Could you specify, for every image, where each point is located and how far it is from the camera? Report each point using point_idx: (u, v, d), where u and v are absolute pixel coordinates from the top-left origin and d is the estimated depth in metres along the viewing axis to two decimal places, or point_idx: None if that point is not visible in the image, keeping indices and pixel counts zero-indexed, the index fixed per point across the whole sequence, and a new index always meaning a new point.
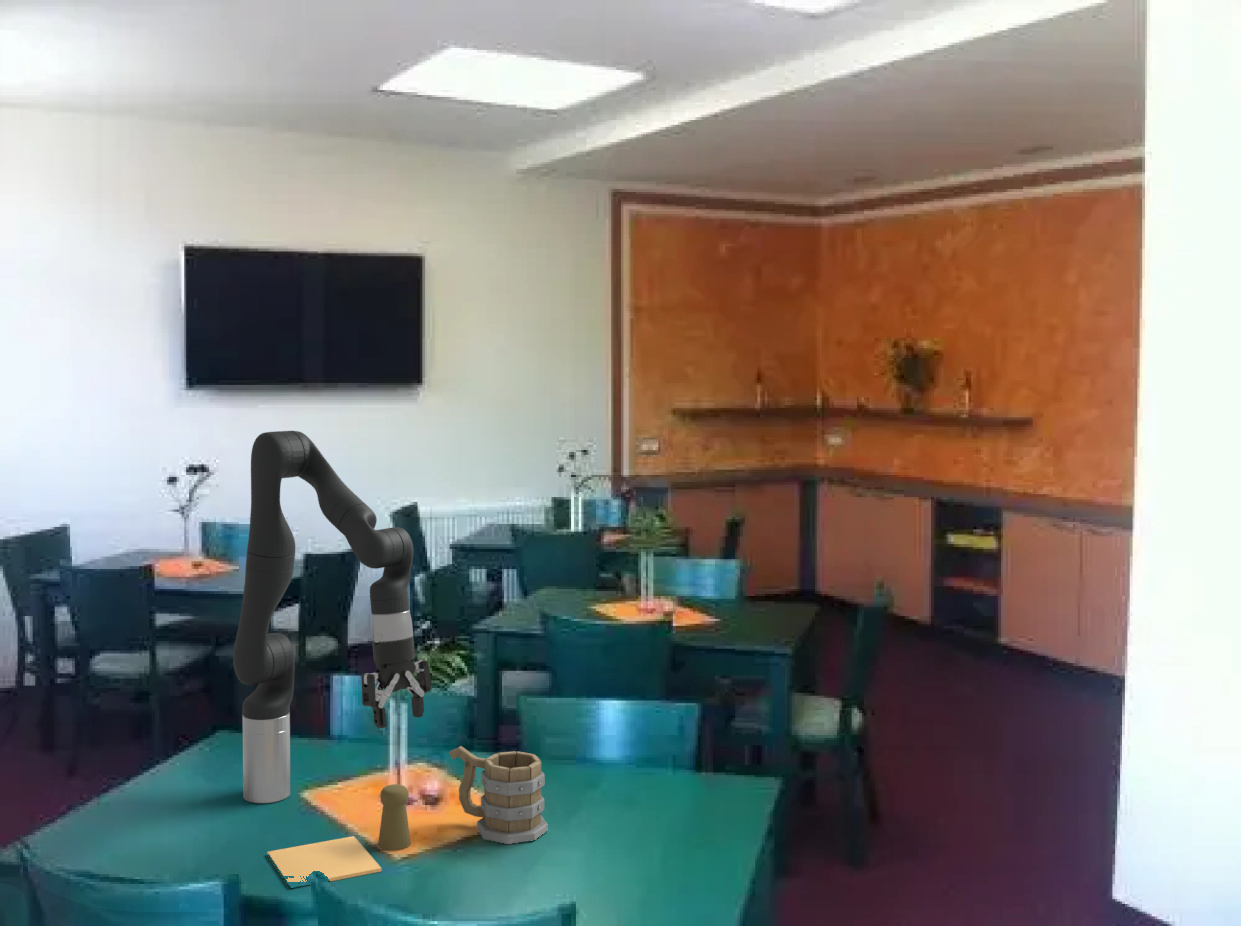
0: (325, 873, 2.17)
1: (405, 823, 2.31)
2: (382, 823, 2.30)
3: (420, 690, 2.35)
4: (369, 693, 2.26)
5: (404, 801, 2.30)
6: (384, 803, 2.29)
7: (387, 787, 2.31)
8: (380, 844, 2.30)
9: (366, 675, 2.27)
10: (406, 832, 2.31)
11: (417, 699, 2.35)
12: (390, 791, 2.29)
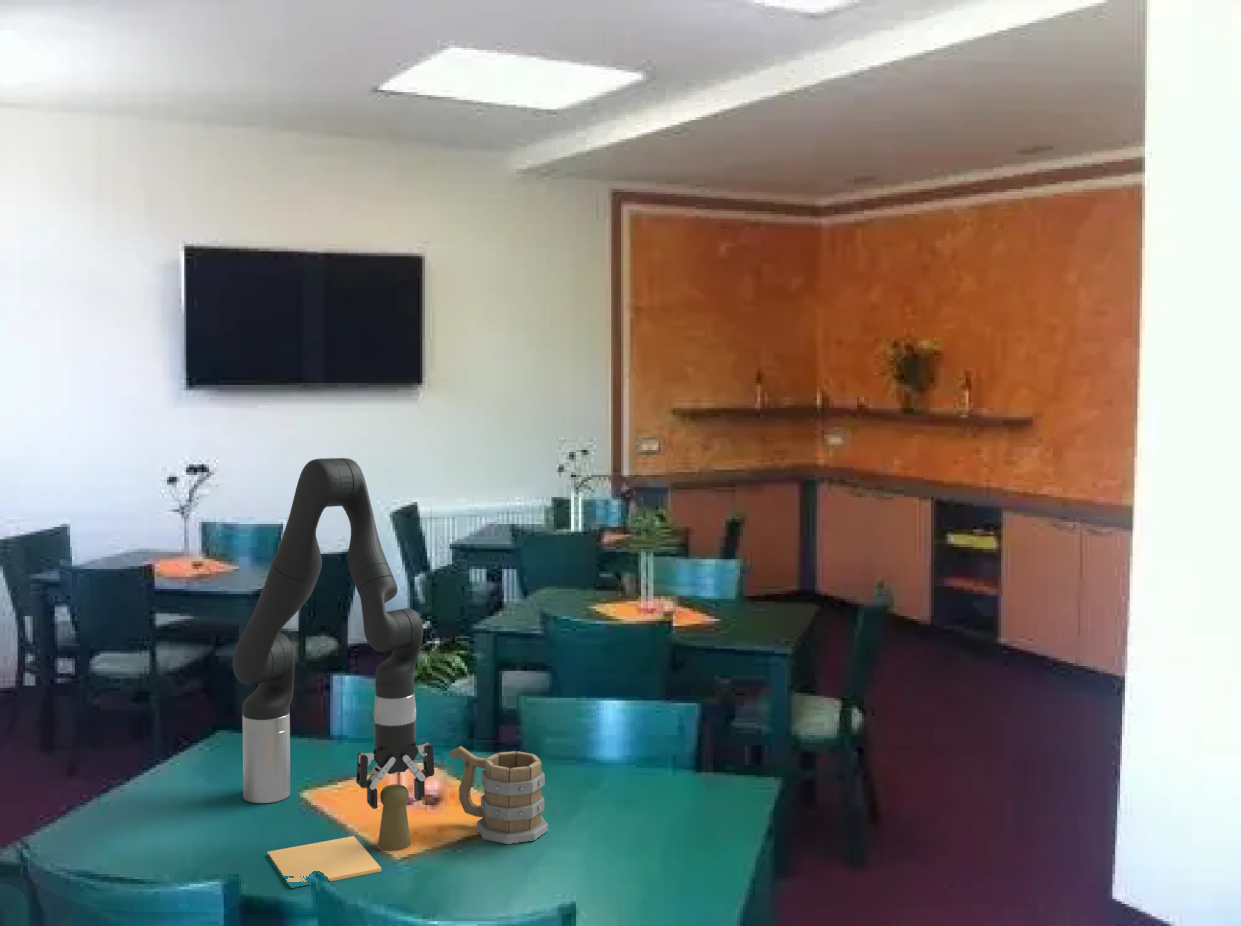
0: (325, 873, 2.17)
1: (405, 823, 2.31)
2: (382, 823, 2.30)
3: (420, 774, 2.32)
4: (360, 774, 2.26)
5: (404, 801, 2.30)
6: (384, 803, 2.29)
7: (387, 787, 2.31)
8: (380, 844, 2.30)
9: (360, 755, 2.27)
10: (406, 832, 2.31)
11: (417, 783, 2.32)
12: (390, 791, 2.29)
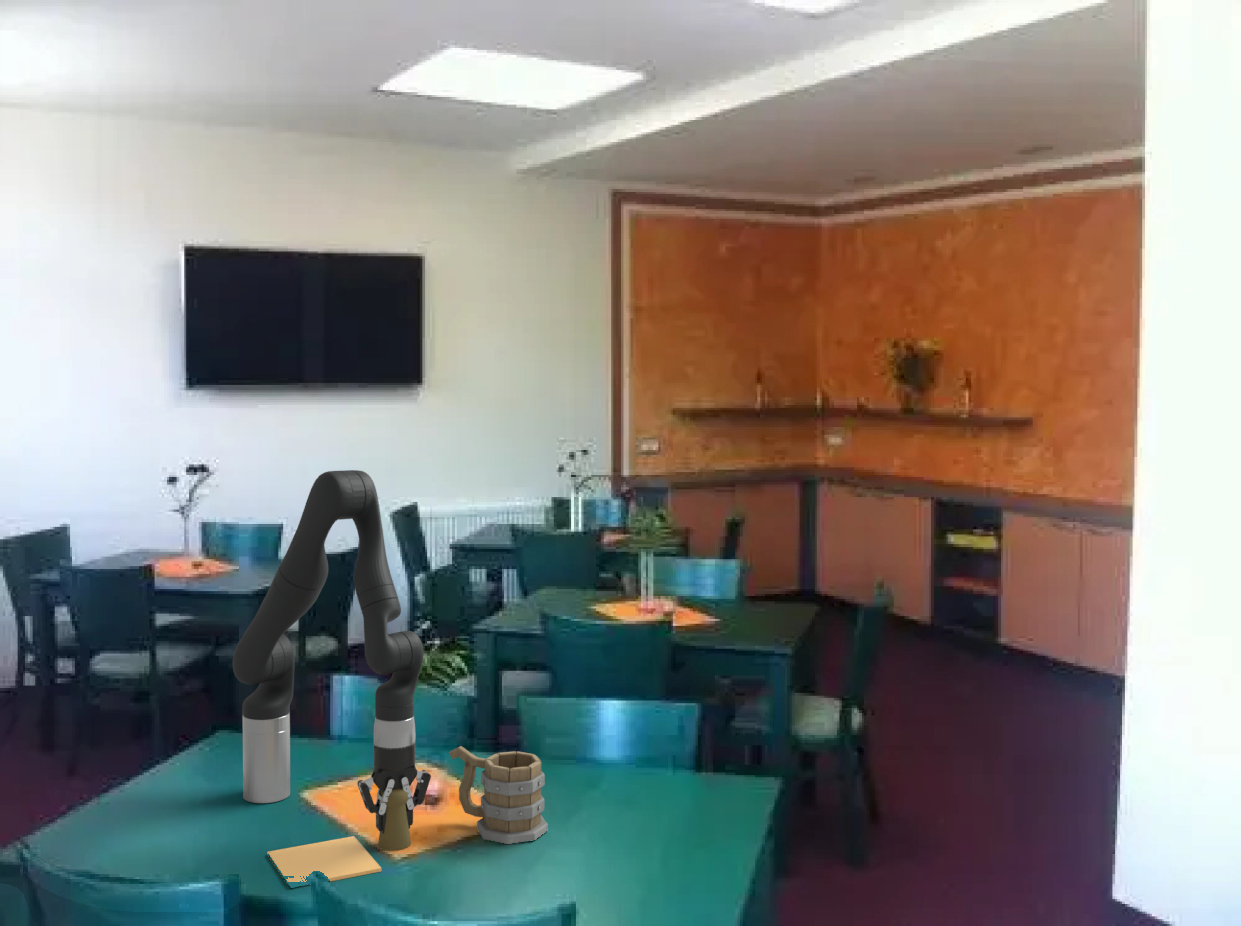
0: (325, 873, 2.17)
1: (405, 823, 2.31)
2: None
3: (411, 802, 2.32)
4: (365, 801, 2.27)
5: (404, 801, 2.30)
6: None
7: None
8: (380, 844, 2.30)
9: (359, 785, 2.27)
10: (406, 832, 2.31)
11: None
12: None
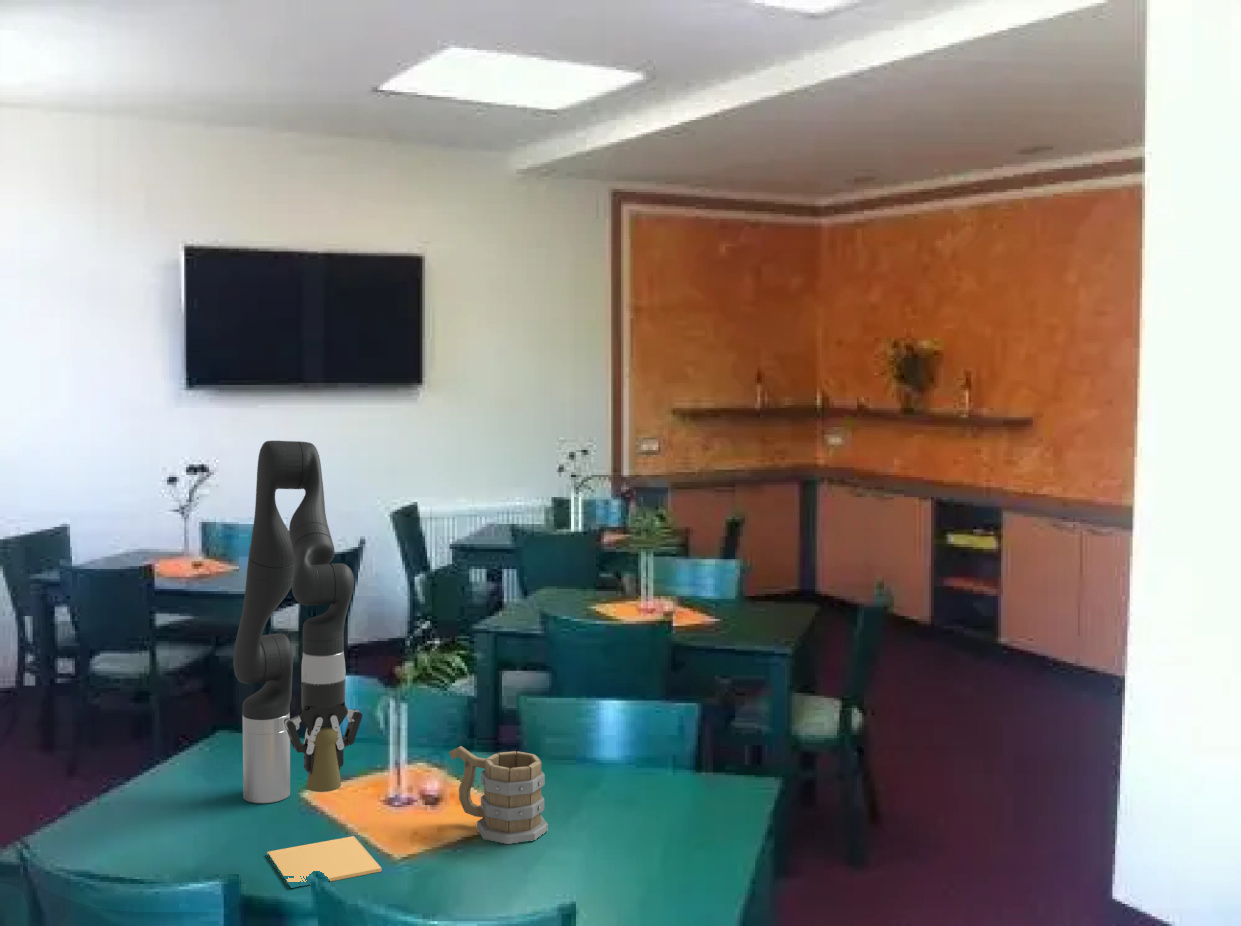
0: (325, 873, 2.17)
1: (334, 764, 2.20)
2: None
3: (341, 742, 2.21)
4: (292, 740, 2.17)
5: (333, 740, 2.20)
6: None
7: None
8: (308, 785, 2.20)
9: (286, 723, 2.17)
10: (335, 773, 2.20)
11: None
12: None
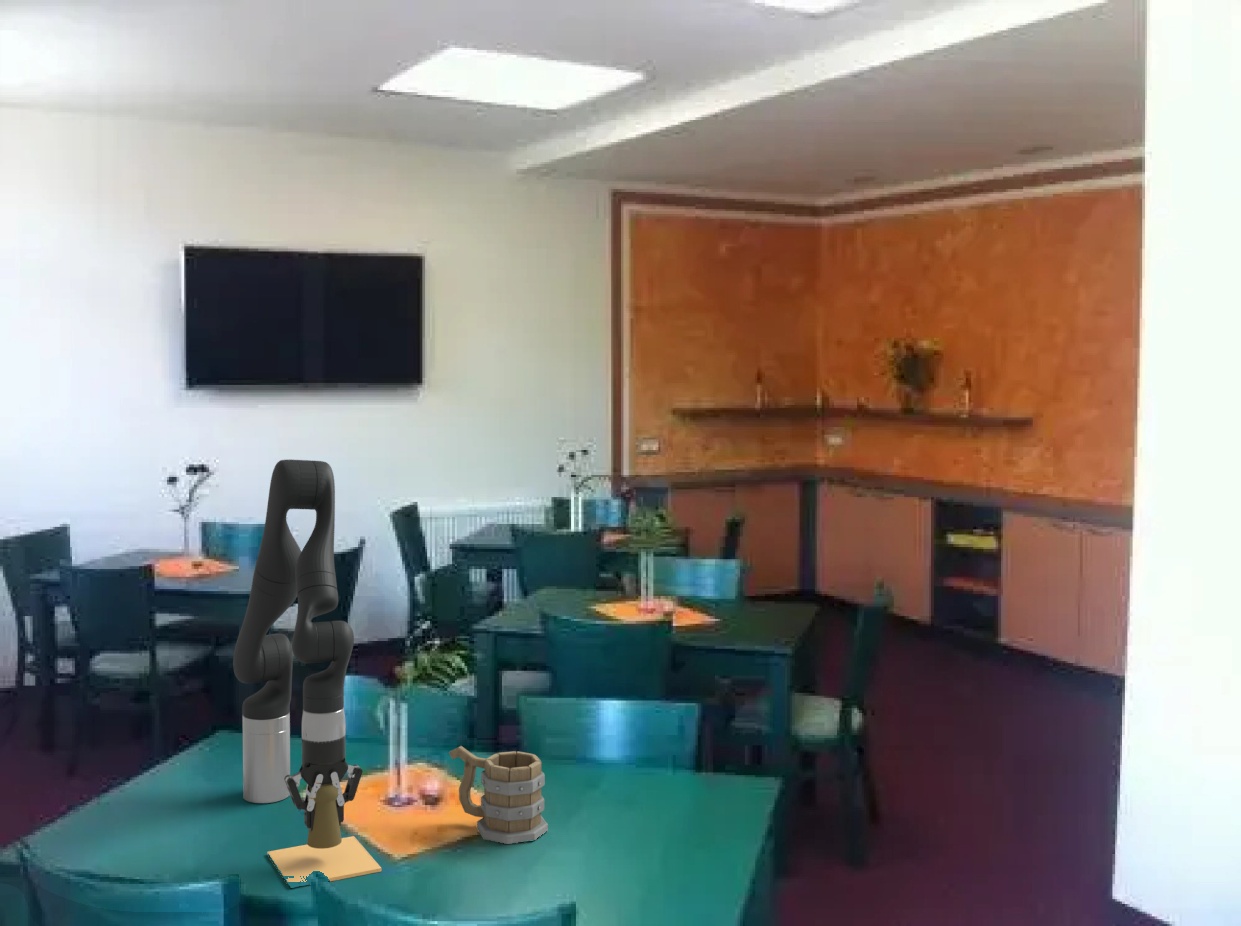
0: (325, 873, 2.17)
1: (335, 820, 2.21)
2: None
3: (341, 798, 2.22)
4: (293, 797, 2.18)
5: (334, 797, 2.20)
6: None
7: None
8: (309, 842, 2.21)
9: (286, 780, 2.18)
10: (336, 829, 2.21)
11: None
12: None
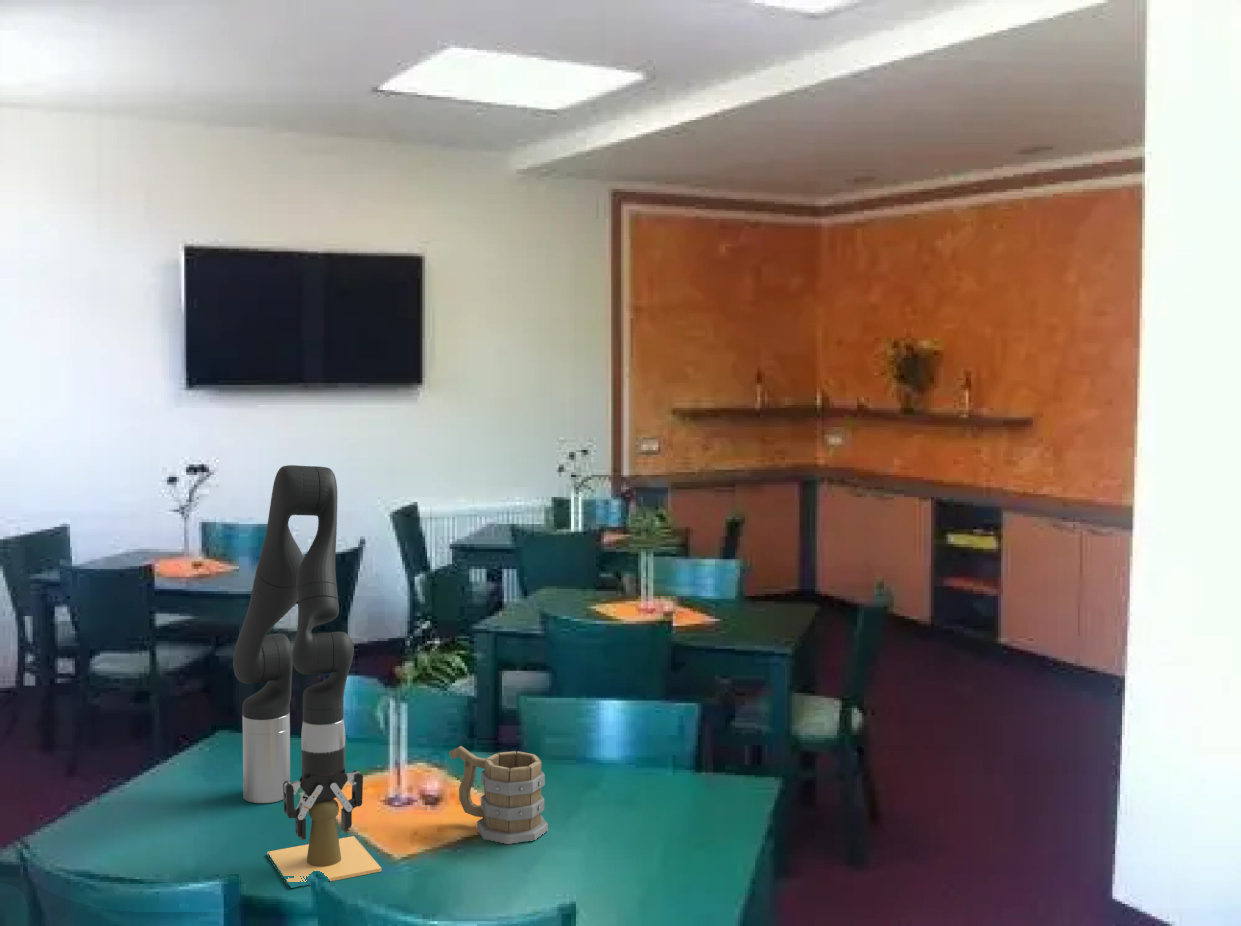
0: (325, 873, 2.17)
1: (334, 838, 2.21)
2: (311, 838, 2.21)
3: (348, 804, 2.23)
4: (286, 804, 2.18)
5: (333, 815, 2.21)
6: (312, 817, 2.20)
7: None
8: (308, 860, 2.21)
9: (285, 785, 2.18)
10: (335, 847, 2.22)
11: (344, 813, 2.23)
12: (318, 804, 2.20)
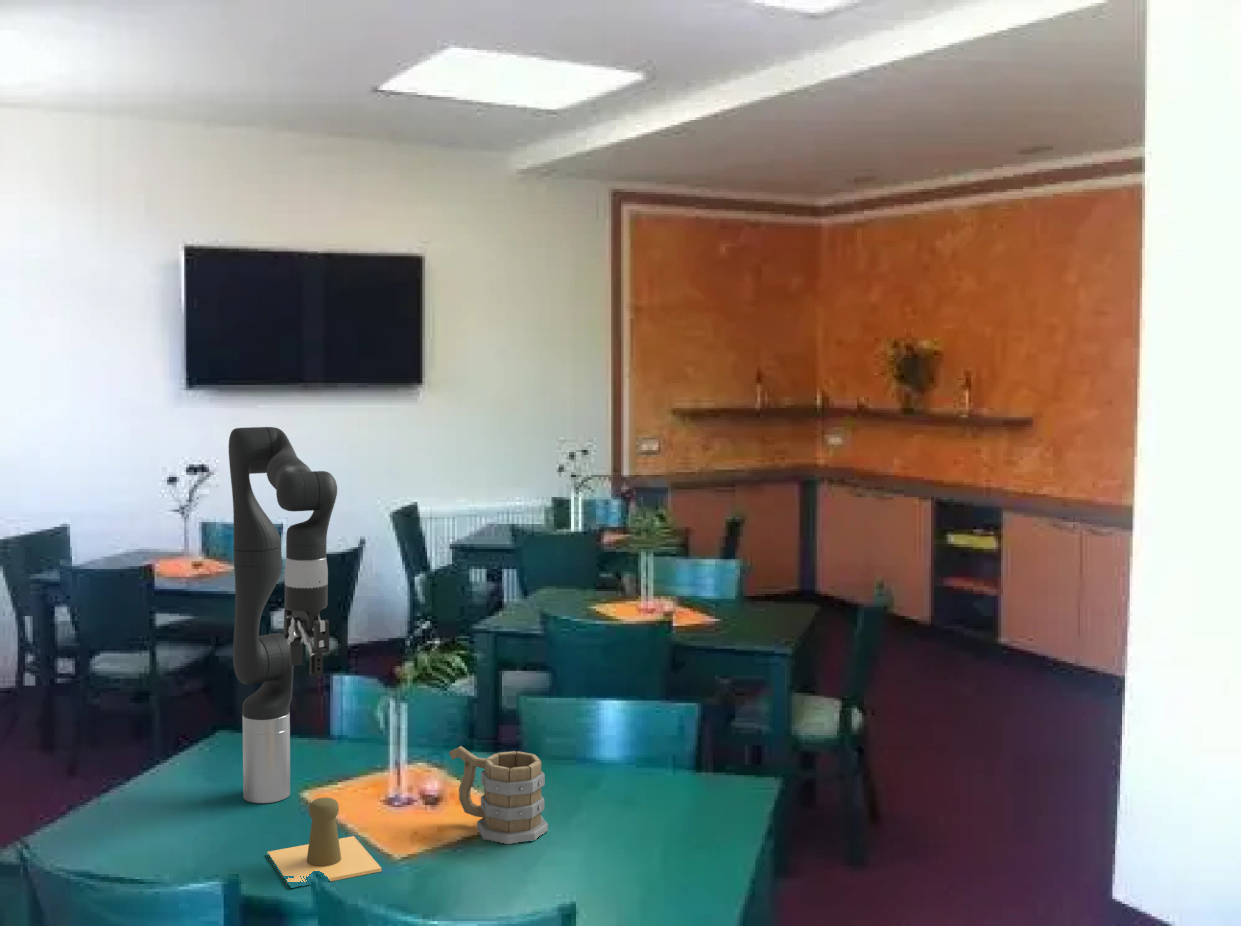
0: (325, 873, 2.17)
1: (334, 838, 2.21)
2: (311, 838, 2.21)
3: (310, 648, 2.22)
4: (284, 624, 2.30)
5: (333, 815, 2.21)
6: (312, 817, 2.20)
7: (316, 800, 2.22)
8: (308, 860, 2.21)
9: None
10: (335, 847, 2.22)
11: None
12: (318, 804, 2.20)
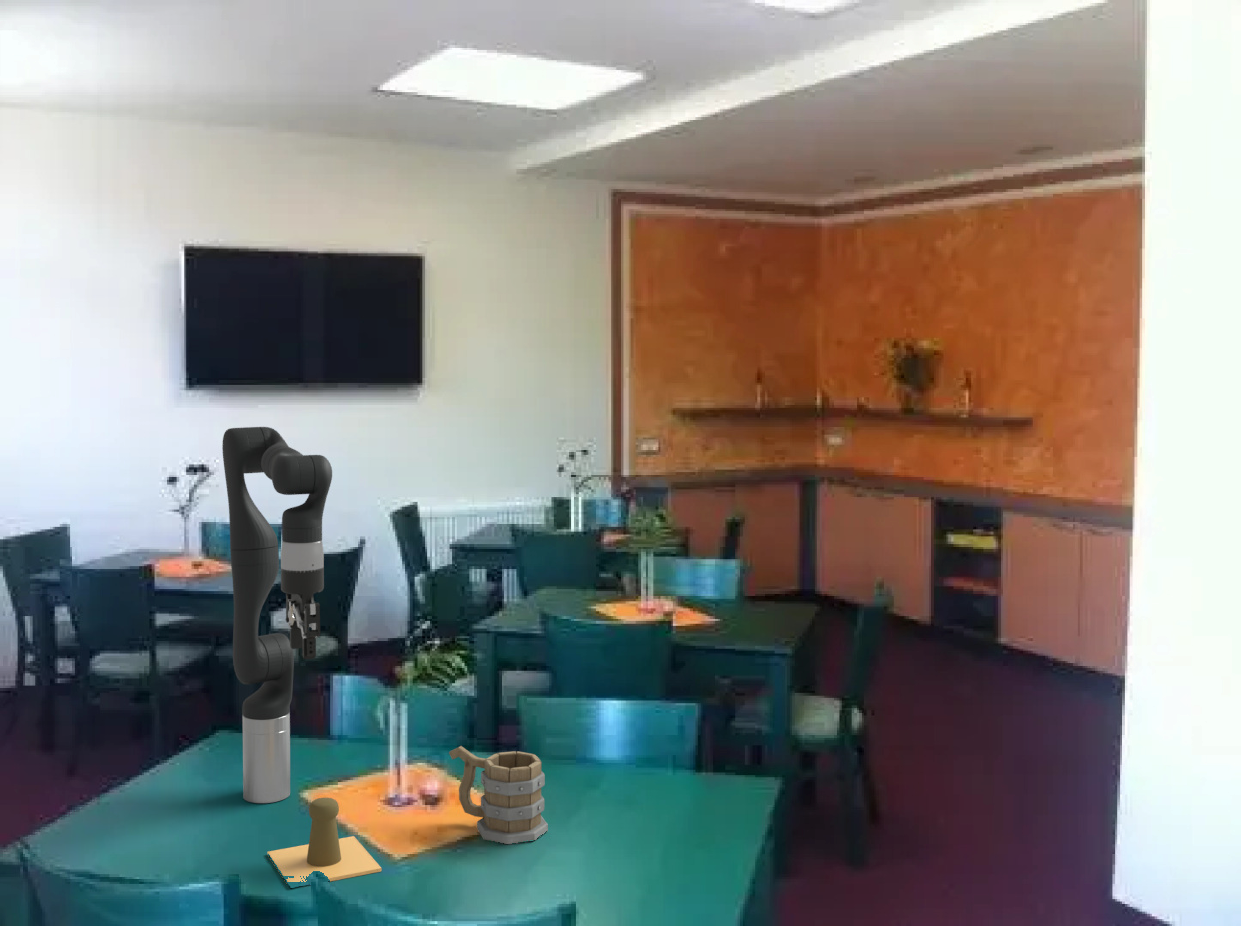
0: (325, 873, 2.17)
1: (334, 838, 2.21)
2: (311, 838, 2.21)
3: (302, 631, 2.22)
4: (286, 608, 2.32)
5: (333, 815, 2.21)
6: (312, 817, 2.20)
7: (316, 800, 2.22)
8: (308, 860, 2.21)
9: None
10: (335, 847, 2.22)
11: None
12: (318, 804, 2.20)
